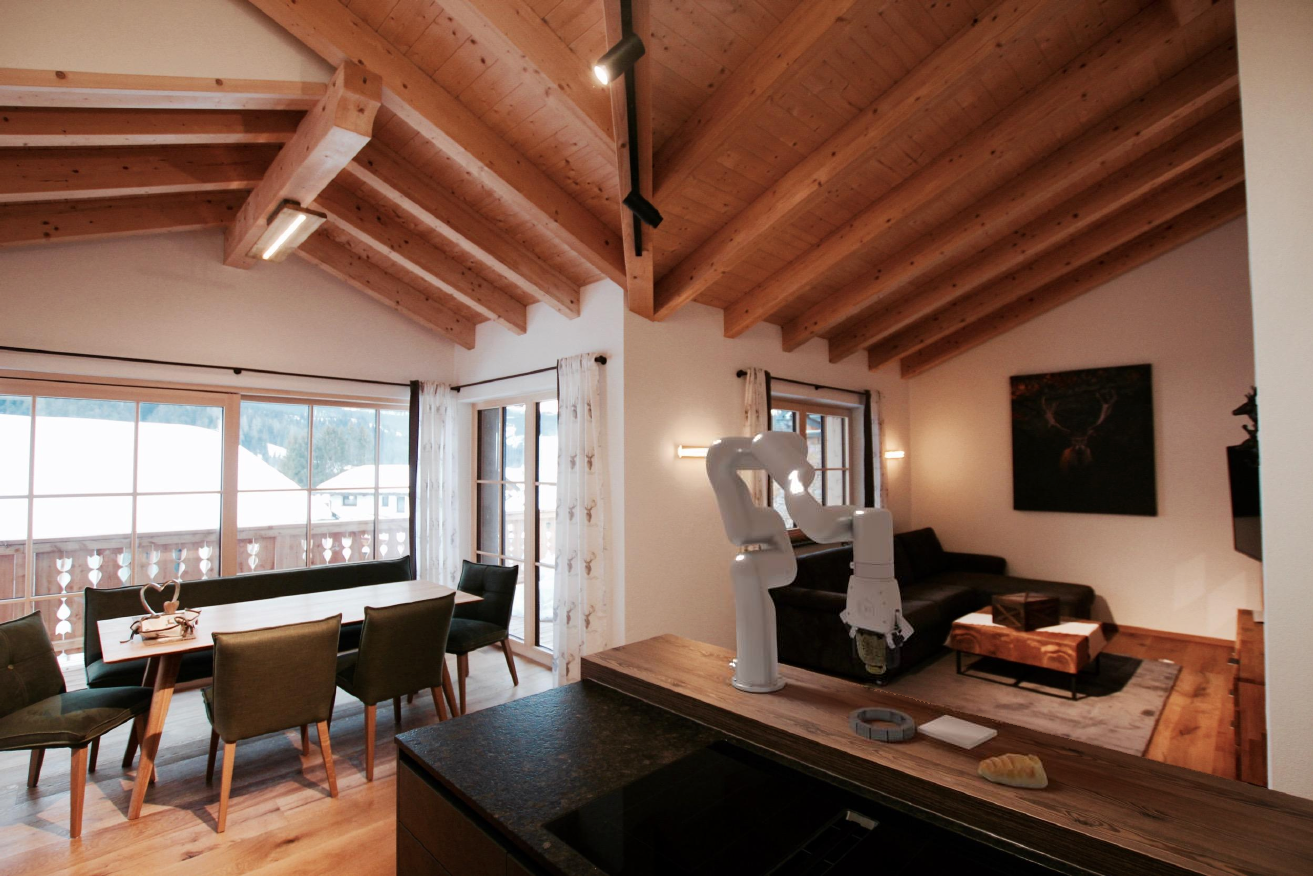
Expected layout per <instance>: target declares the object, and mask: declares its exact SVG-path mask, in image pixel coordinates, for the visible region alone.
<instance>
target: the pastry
mask: <svg viewBox="0 0 1313 876" xmlns="http://www.w3.org/2000/svg"><path fill="white" fill-rule="evenodd" d="M977 771H978V773H979V775H981V776H982V777H983V778H985V779H986V780H988V781H990V782H992V783H997V784H998V783H999V784H1002V785H1007V786H1010V787H1019V788H1028V789H1045V788H1047V786H1048V783H1049V782H1048V779H1047V778H1048V777H1047V774H1046V771H1045V769H1044V767H1043V763H1042V761H1041V760H1040V758H1039V757H1038V756H1036V755H1033V754H1031V753H1030V754H1028V755H1023V754H1018V753H1015V754H1013V753H1005V754H1004V755H1000V756H997V757H994V756H992V757H989V758H986V759H983V760H981V761H980V762H979V765H978V770H977Z"/></svg>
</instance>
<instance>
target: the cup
mask: <svg viewBox="0 0 1313 876" xmlns="http://www.w3.org/2000/svg"><path fill="white" fill-rule="evenodd" d="M855 633H856V641H857V648H858V653H859V656H860V658H859V659H861V660H862V662H864V663H865V664H866V665H865V668H866V670H867V672H869V673H871V674H875V675H880V674H884V673H885V671H886V670H887V669H886V668H887V666H886V647H889V645H888V642H887V640H886V636H885V635H884V634H881V633H877V632H873V631H869V630H865V629H864V630H863V629H861V628H859V630H858V631H856V630H855ZM891 635H892V634H891ZM892 637H893V635H892ZM893 639H894V637H893Z"/></svg>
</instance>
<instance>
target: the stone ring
mask: <svg viewBox="0 0 1313 876" xmlns="http://www.w3.org/2000/svg"><path fill="white" fill-rule="evenodd" d="M875 720H880V721H886V722H892V723H894V724H898V725H900V726H891V727H883V726H875V725H872V724H868V723H866V721H875ZM849 728H850V729H851V731H853V732H854V733H855V734H857V735H859V736H861V737H864V738H867V739H869V740H873V741H880V742H887V743H888V742H889V743H890V742H902V741H907V740H909V739H911V738H913V737H914V736H915V720H914V718H913V717H912V716H911V715H909V714H908V713H905V712H902V711H899V710H896V709H895V708H886V707H878V706H877V707H876V706H873V707H871V706H870V707H860V708H857V709H854V710H852V711H850V715H849Z"/></svg>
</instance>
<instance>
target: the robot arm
mask: <svg viewBox="0 0 1313 876" xmlns="http://www.w3.org/2000/svg"><path fill="white" fill-rule="evenodd" d="M808 454H809V446H808V443H807V441H806V439H805V438H804V436H802V434H799V433H797V432H796V431H788V430H766V431H762V432H760V433H758V434H757V435H755V436H725V437H721V438H718V439H716V440H714V441H713V442H712V443H711V444H710V445H709V447H708V449H707V452H706V456H705V468H706V469H705V470H706V474H707V477H708V480H709V482H710V485H711V487H712V489H713V492H714V494H715V497H716V500H717V505H718V507H719V508H718V509H719V512H720V515H721V520H722V522H723V526H724V531H725V534H726V537H727V539H728V541H729V542H730V544H731V545H733V546H735V547H751V546H752V547H753V546H759V545H760V549H759V548H758V549H753V550H747V551H743V552H740V553H738V554H737V555H736V556H735V557H734V558H733V559H732V560H731V563H730V567H729V573H730V574H729V575H730V580H731V584H732V589H733V595H734V607H735V627H736V629H735V631H736V655H737V657H736V658H734V659H733V660H732V662H730V663H729V665H728V666H729V669H732V670H734V673H735V674H734V675H733V676H732V677H731V684H732V686H733V687H734V688H736V689H739V690H741V691H745V692H749V693H771V692H775V691H778V690H781V689H783V688H784V687H785V686H786V680H785V678H784V677H783V676H782V675H780V674H779V673H778V671H779V669H778V668H779V667H778V664H779V663H778V645H777V644H778V642H777V616H776V614H777V613H776V606H775V603H774V601H773V598H772V597H771V595H770V593H769V589H775V588H779V587H785V586H788V585H790V584H792V583H793V582H794V581H795V579H796V576H797V572H798V564H797V559H796V556H795V553H794V548H793V545H792V543H791V538H790V535H789V531H788V528H787V526H786V522H785V520H784V518H783V516H782V515H781V514H780V513H779V512H778V510H776V509H775V508H773V507H771V506H756V505H755V503H754V501H753V498H752V493H751V491H750V488H749V486H748V485H747V483H746V482H745V480H744V479H743V478H742V477H741V476H740V475H739V474H738V471H761V470H762V471H763V470H764V471H765V472H766V473H767V475H769V476H770V477H771V479H773V480H774V482H776V484H777V485H778V486H779V487H780V488H781V490H783V493H784V494H783V495H784V498H783V499H784V505H785V508H786V512H787V514H788V516H789V517H790V519H791V520H792V521H793V523H794V524H795V525H796V526H797V527H798V529H800V530H801V532H802V533H803V534H804V535H806V536H807V538H809V539H810V540H812V541H814V542H816V543H818V544H833V543H840V542H841V543H842V542H852V543H853V546H852V548H853V550H852V551H853V553H852V554H853V561H850V563H849V567H850V569H853V574H852V575H850V577H849V581H848V587H847V591H846V592H847V593H846V607H845V609H844V610H843V611H841V612H840V613H839V617H840V619H841V621H842V622H843V623H844V626H845V629H847V631H848V632H849V637H850V638H852V658H854V659H856V660H857V659H861V658H860V656H859V653H858V648H857V641H856V633H855V630H856V631H858V630H859V628H861V629H863V630H864V629H865V630H869V631H873V632H877V633H881V634H884V635H885V636H886V640H887V642H888V645H889V647H886V665H885V667H886V668H887V669H890V670H892V669H895V668H899V666H900V662H901V657H900V655H901V653H900V651H901V650H900V647H901V646H903V644H904V643H905V642H907V640H908V639H909V637H910V636H911V635H912V634H913V633H914V632H915V630H914V628H913V627H912V626H911V624H910V623H909V622H908V621H907V620H906V619H905V618H904V617H903V609H902V599H901V593H900V587H899V584H898V580H897V579H896V578H895V564H894V560H895V559H894V529H893V528H894V523H893V521H894V520H893V513H892V512H891V511H890V510H889V509H887V508H883V507H881V508H880V507H862V506H860V505H859V506H858V505H855V504H854V505H852V504H842V505H840V504H835V505H824V506H823V505H822V504H821V503H820V502H819V501H818V500H817V499H816V498H815V497H814V496H813V495H812V494H811V493H810V491H809V490H808V488H810V487H811V486H812V484H813V482H814V480H815V478H816V470H815V467H814V466H813V465H812V464H811V462H809V461H808V456H809V455H808ZM900 630H901V632H900V633H899V631H900ZM891 634H892V635H893V637H894V639H893V637H892V635H891Z"/></svg>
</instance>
